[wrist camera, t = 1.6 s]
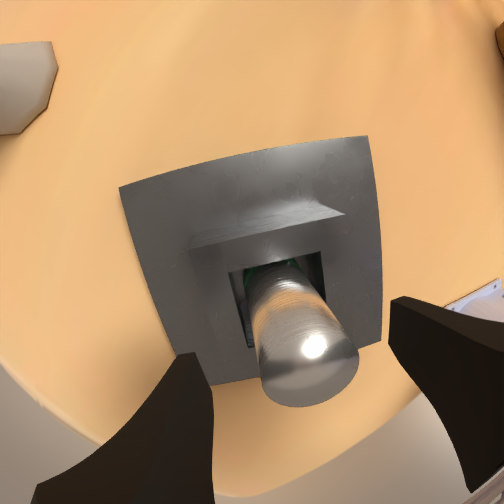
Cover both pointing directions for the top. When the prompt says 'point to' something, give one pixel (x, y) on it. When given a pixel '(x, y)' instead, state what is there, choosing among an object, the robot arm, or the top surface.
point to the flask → (24, 83)
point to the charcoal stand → (258, 243)
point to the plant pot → (500, 38)
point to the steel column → (296, 337)
